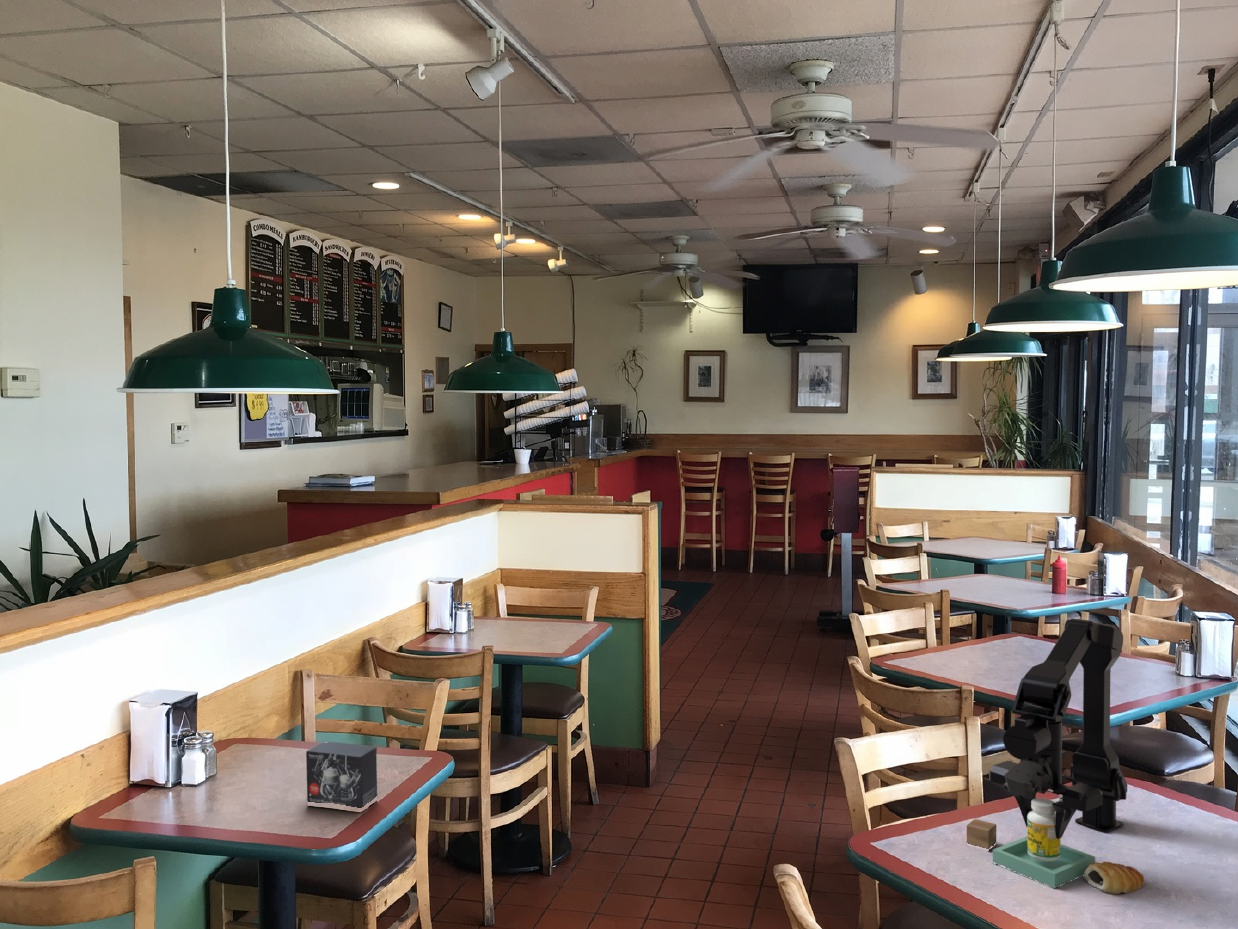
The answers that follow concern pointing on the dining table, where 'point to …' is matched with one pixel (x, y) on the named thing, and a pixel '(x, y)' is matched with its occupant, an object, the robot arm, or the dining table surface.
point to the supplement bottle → (1042, 831)
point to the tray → (1043, 863)
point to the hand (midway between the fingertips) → (1043, 833)
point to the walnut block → (981, 833)
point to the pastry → (1114, 877)
